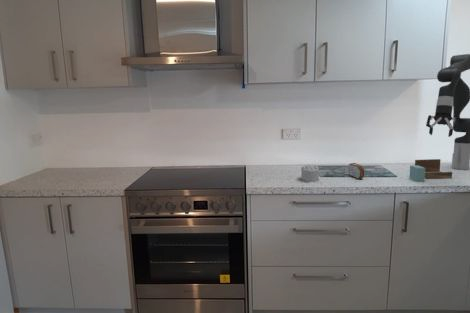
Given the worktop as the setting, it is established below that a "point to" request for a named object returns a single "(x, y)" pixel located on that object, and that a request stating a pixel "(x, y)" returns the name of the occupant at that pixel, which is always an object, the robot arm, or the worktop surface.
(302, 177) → the lumpy-topped squat cylinder
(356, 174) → the grey brown half-round slab
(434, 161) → the wall rack
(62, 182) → the worktop surface
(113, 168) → the worktop surface
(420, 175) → the cabinet block
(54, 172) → the worktop surface
